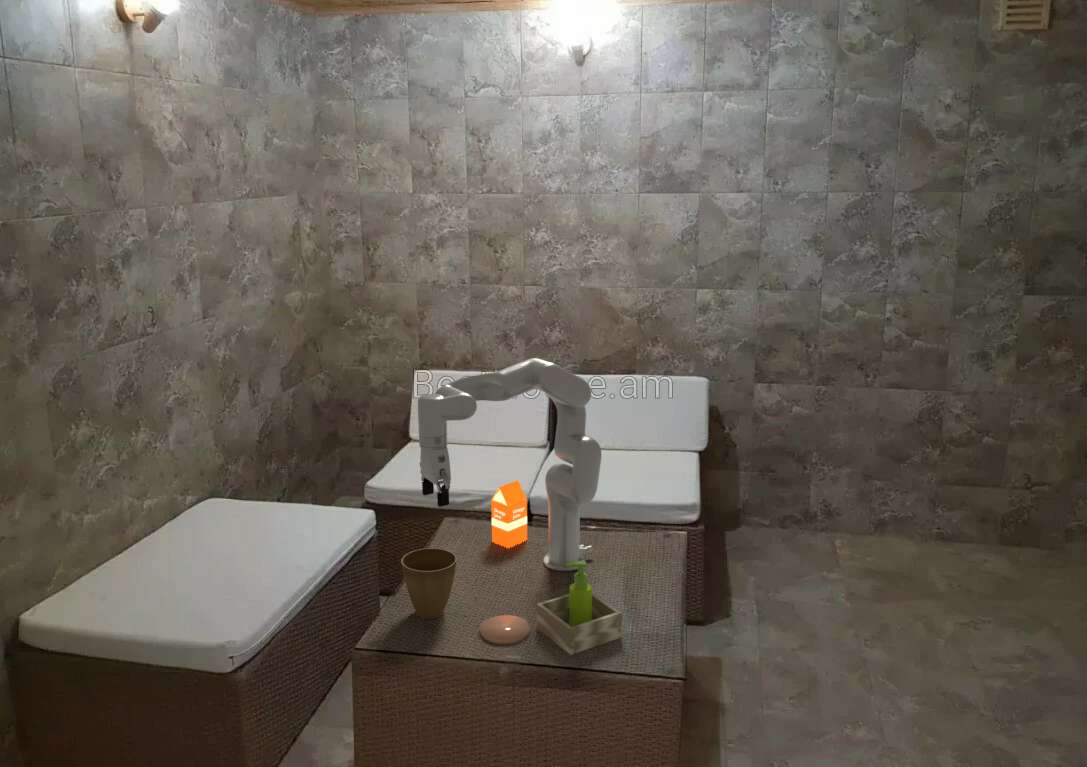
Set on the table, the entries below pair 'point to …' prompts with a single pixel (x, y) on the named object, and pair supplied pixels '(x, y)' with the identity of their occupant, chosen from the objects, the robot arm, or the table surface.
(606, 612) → the open wooden box
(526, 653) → the table surface
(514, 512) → the orange juice
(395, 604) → the table surface
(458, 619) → the table surface
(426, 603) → the plant pot
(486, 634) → the peach oval pebble
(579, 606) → the soap dispenser
